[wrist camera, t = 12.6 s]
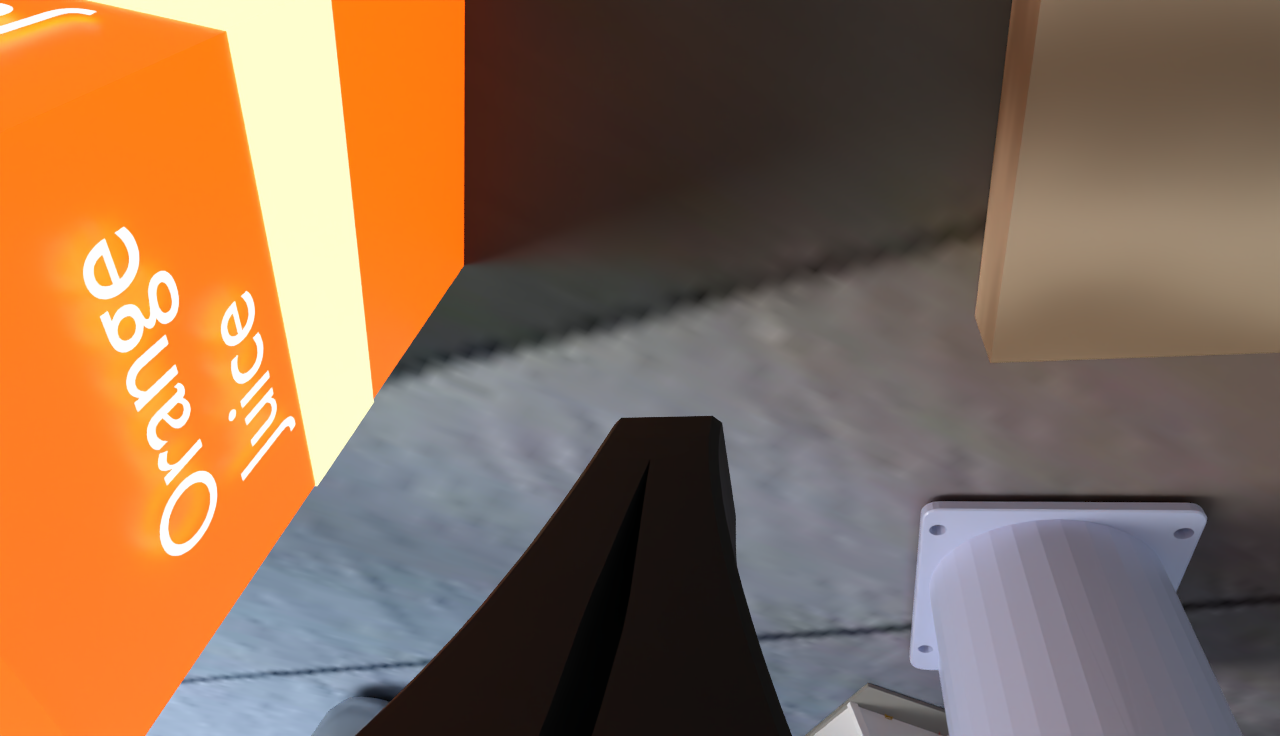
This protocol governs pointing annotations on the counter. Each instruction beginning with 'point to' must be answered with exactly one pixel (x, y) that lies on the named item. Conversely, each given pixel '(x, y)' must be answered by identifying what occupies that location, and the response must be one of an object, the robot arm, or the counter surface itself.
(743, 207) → the counter surface
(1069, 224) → the flat wooden plank
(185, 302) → the orange juice
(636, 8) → the counter surface
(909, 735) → the skyscraper
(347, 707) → the plastic bottle
